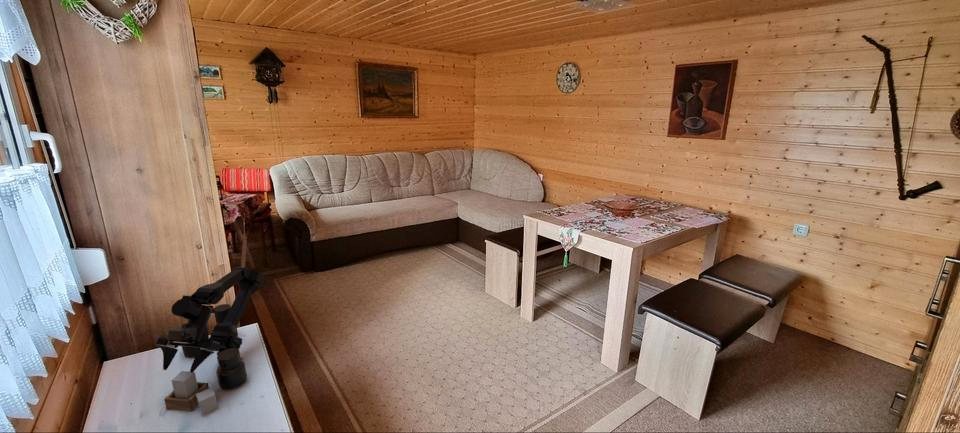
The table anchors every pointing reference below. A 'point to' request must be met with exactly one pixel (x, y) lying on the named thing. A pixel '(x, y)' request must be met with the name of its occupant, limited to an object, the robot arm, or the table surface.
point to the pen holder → (191, 350)
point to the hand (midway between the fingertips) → (177, 371)
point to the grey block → (206, 401)
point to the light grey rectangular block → (185, 385)
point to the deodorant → (221, 313)
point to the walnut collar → (184, 404)
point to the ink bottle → (230, 369)
